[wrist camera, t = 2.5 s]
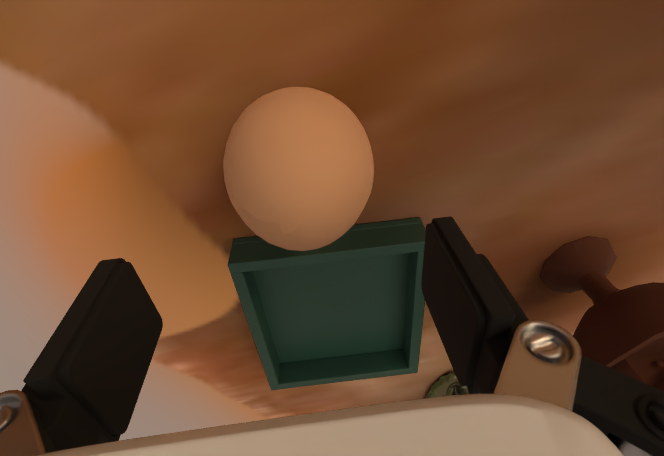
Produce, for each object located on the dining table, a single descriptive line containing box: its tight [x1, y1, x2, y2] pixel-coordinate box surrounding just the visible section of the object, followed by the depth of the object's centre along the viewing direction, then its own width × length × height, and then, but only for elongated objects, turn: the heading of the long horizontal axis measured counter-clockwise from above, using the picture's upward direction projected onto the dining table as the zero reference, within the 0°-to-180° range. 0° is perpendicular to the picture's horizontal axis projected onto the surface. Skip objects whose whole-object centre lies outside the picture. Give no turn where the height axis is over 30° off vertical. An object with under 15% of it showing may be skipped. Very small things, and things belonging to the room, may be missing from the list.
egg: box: [223, 87, 374, 251], centre depth 17 cm, size 7×7×9 cm
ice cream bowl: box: [540, 237, 664, 392], centre depth 22 cm, size 11×11×15 cm
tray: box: [228, 218, 426, 390], centre depth 28 cm, size 15×13×3 cm
